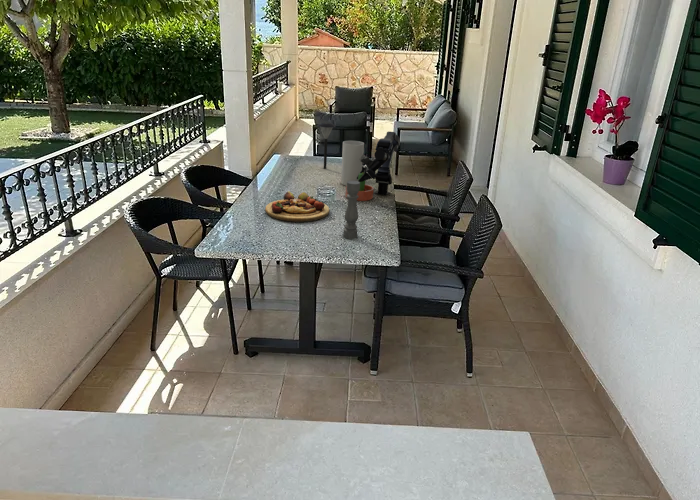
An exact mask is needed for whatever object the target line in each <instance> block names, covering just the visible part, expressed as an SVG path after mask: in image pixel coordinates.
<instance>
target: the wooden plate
mask: <svg viewBox="0 0 700 500" xmlns="http://www.w3.org/2000/svg"><path fill="white" fill-rule="evenodd" d="M264 210H265V213H266V214H267V215H268V216H269V217H272V218H274V219H277V220H281V221H285V222H311V221H312V222H313V221H318V220H321V219H323V218H326V217H327V216H328V215H329V214H330V207H329V206H328V205H327V204H325V202H324V201H319V200H318V199H317V198H314V196H313V195H309V194H308V193H306V192H305V191H303V192H301V193H300V194H298V196H297V198H295V195H294V194H293V192H292V191H290V190H288V191H286V192H285V193H284V195H283V199H278V200H274V201H271V202H269V203H267V204H266V206H265V209H264Z"/></svg>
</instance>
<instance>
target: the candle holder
mask: <svg viewBox="0 0 700 500" xmlns="http://www.w3.org/2000/svg"><path fill="white" fill-rule="evenodd" d="M359 190H360V182H358V181H347V192H348V195H347V197H346V198H347V206H346V210H345V213H344V220H345V224H344V228H343V235H342V236H343V238H344V239H347V240H355V239H357V238H358V225H357V224H356V223H357V221H358V220H359V213H358V207H357V203H358V201H357V198H358V197H359V196H358V195H357V194H358V192H359Z"/></svg>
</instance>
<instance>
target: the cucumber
mask: <svg viewBox="0 0 700 500" xmlns="http://www.w3.org/2000/svg"><path fill="white" fill-rule="evenodd" d="M363 174H364V173H359V177H358V180H359V179H360V178H361V176H362V175H363ZM366 181H367V180H365V181H362V182H360V190H359V191H364V187H365V184H366Z"/></svg>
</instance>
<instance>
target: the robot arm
mask: <svg viewBox="0 0 700 500" xmlns="http://www.w3.org/2000/svg"><path fill="white" fill-rule="evenodd" d="M400 144H401V139H400V136H399V135H398V134H397V132H396V131H390V130H389V131H386V134H385V136H384V137H383V138H380V139H378V141H377V143H376V146H375V151H374V153H373V154H374V156H373V157H371V158H370V157H368V156H366V155H364V154H363V155H362V156H361V158H360V161H361V162H362V165H363V166H362V170H361V172H360V173H364V174H363V175H362V176H361V178H360V179H359V180H358V182H362V181H365V180H366V181H368V180H372V179H373V180H374V181H375V184H378V185H377V191H375V193H374V194H375V195H381V196H387V195H389V194H390V193H391V192H390V191H389V186H390V185H392V184H393V176H392V174H391V164H392V160H393V157H394V153H395V152H396V151H397V150H398V149H399V147H400ZM358 177H359V175H358V176H357V179H358ZM366 181H365V182H366Z"/></svg>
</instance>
